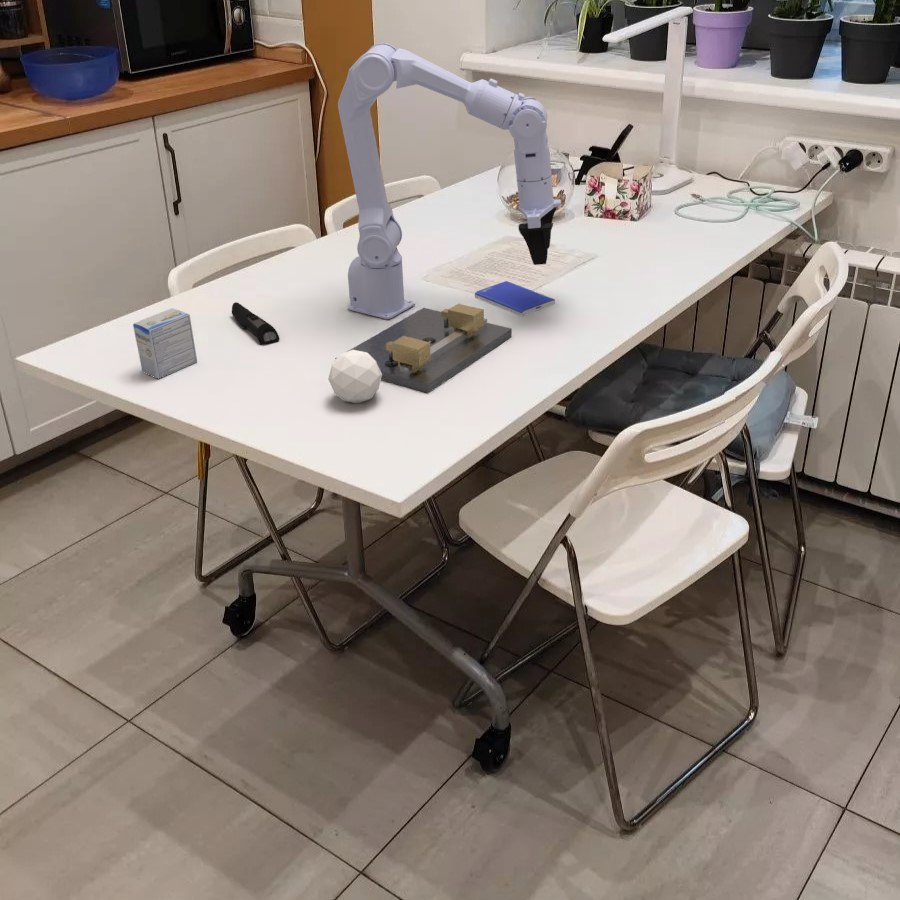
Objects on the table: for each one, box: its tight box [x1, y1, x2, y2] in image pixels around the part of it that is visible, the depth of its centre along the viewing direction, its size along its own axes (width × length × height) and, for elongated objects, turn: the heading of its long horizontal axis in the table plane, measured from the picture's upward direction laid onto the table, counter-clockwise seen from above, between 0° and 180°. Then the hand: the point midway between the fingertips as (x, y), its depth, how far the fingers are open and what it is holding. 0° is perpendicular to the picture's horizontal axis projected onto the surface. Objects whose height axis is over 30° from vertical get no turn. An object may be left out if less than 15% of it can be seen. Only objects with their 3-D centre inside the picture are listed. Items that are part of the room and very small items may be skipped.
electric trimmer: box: [231, 302, 280, 346], centre depth 179 cm, size 4×15×3 cm, turn 32°
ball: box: [327, 350, 382, 404], centre depth 154 cm, size 8×8×8 cm
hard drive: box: [474, 280, 556, 317], centre depth 187 cm, size 2×8×12 cm
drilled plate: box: [334, 307, 513, 394], centre depth 168 cm, size 18×24×6 cm
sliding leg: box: [440, 303, 485, 338], centre depth 170 cm, size 7×3×4 cm, turn 55°
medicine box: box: [132, 308, 198, 380], centre depth 165 cm, size 8×4×9 cm, turn 141°
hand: (541, 255), depth 177 cm, fingers open, 7 cm apart
